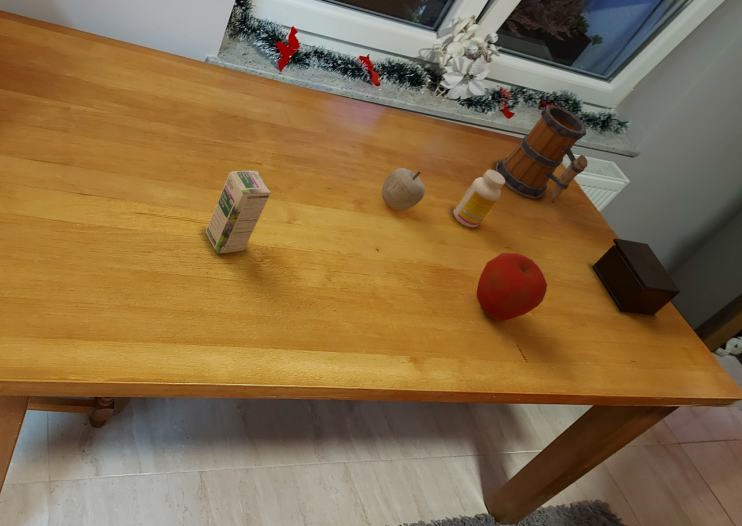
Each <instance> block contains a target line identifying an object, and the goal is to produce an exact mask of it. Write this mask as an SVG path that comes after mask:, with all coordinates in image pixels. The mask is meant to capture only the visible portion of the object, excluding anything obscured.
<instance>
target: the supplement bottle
mask: <svg viewBox="0 0 742 526" xmlns="http://www.w3.org/2000/svg"><path fill="white" fill-rule="evenodd" d="M504 183H505V179H504V177H503V176H502V175H501V174H500V173H498V172H496V171H495V170H494V169H487V170H486V171H485V172H484V174H483V176H481V177H480V176H479V177H477V178H476V179H474V180H473V182H472V183H471V185H470V186H469V187H468V189H467V190H466V191H465V193H464V195H462V197H461V199H459V201H458V202H457V204H456V205H455V207H454V209H453V215H454V218H455V219H456V220H457V221H458V222H459V223H460V224H461V225H463V226H465V227H467V228H476V227H478V226H479V225H480V224H481V223H482V221H483V220H484V219H485V217H486V216H487V215H488V213H489V212H490V210H491V209H493V207H494V206H495V204H496V203H497V201H498V200H499V199H500V198H501V194H502V191H501V188H502V187H503V186H504V185H505V184H504Z"/></svg>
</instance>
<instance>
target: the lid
mask: <svg viewBox="0 0 742 526" xmlns="http://www.w3.org/2000/svg"><path fill="white" fill-rule="evenodd" d="M612 242H613V243H614V245H616V246H617V248H618V249H619V251H620V252H621V254H622V255H623V257H624V259H625V260H626V262H627V263H628V265H629V266H630V268H631V269H632V271H633V272H634V274H635V275H636V277H637V278H638V280H639V282H640V283H641V285H642V286H643V288H644V289H647V290H655V291H662V292H669V293H676V294H678V295H679V294H680V293H681V292H682V291H681V290H680V288H679V287H678V285H677V284H676V283H675V282H674V279H673V278H672V277H671V275H670V274H669V272H668V271H667V269H666V268H665V267H664V266H663V264H662V262H661V261H660V259H659V258H658V257H657V255H656V254H655V252H654V251H653V250H652V248H651V247H650V245H649V244H648V243H645V242H641V241H640V242H639V241H635V240H634V241H633V240H627V239H623V238H622V239H621V238H615V237H614V238H613V239H612Z"/></svg>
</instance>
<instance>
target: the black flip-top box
mask: <svg viewBox="0 0 742 526" xmlns="http://www.w3.org/2000/svg"><path fill="white" fill-rule="evenodd" d="M591 268H592V270H593V272H594V273H595V275H596V276H597V278H598V279H599V281H600V282H601V284H602V285H603V287H604V289H605V290H606V292H607V294H608V296H609V297H610V298H611V300H612V301H613V303H614V304H615V306H616V308H617V309H618V311H619V312H621V313H629V314H630V313H631V314H639V315H646V316H655V315H656V314H657V313H658V312H660V310H662V309H663V308H664V307H665V306H666V305H667V304H668V303H670V302H671V301H672V300H674V298H676V297H677V296H678V295H679V294H676V293H669V292H662V291H655V290H647V289H644V288H643V286H642V285H641V283H640V282H639V280H638V278H637V277H636V275H635V274H634V272H633V271H632V269H631V268H630V266H629V265H628V263H627V262H626V260H625V259H624V257H623V255H622V254H621V252H620V251H619V249H618V248H617V246H616V245H615V244H613V245H612V246H611V247H609V249H607V251H606V252H605V253H603V255H602V256H601V257H599V259H597V261H596V262H595V263H594V264H593V265H592V266H591Z"/></svg>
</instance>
